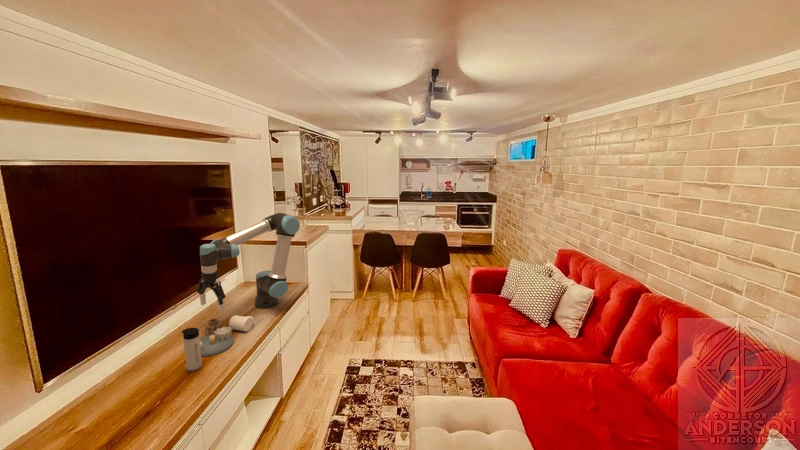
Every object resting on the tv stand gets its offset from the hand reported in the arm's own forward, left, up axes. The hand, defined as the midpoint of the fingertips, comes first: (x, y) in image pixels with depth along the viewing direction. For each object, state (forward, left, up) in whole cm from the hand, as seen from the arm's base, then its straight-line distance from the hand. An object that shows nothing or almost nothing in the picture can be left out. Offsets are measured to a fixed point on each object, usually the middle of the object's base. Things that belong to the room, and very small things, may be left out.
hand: (211, 307), depth 183 cm
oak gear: (0, 0, -15) cm, 15 cm away
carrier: (+10, +13, -15) cm, 22 cm away
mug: (-10, +12, -15) cm, 22 cm away
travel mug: (+27, +21, -15) cm, 37 cm away
